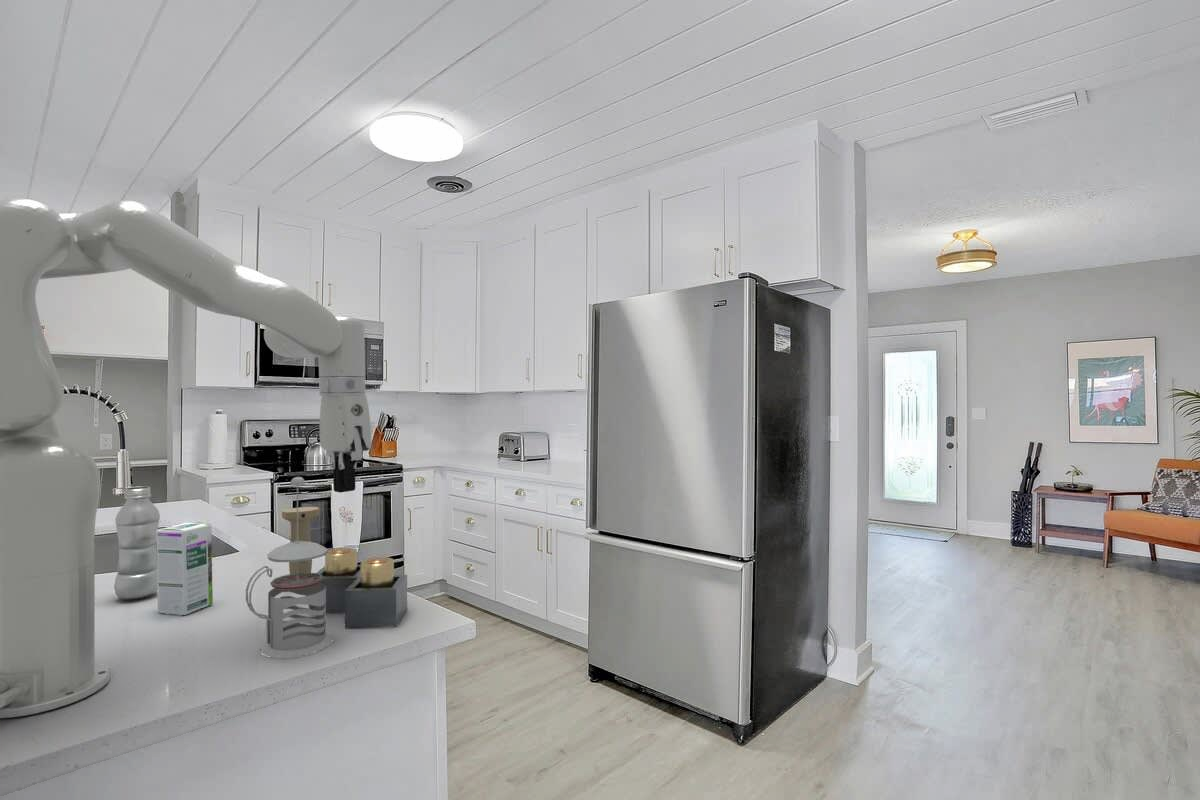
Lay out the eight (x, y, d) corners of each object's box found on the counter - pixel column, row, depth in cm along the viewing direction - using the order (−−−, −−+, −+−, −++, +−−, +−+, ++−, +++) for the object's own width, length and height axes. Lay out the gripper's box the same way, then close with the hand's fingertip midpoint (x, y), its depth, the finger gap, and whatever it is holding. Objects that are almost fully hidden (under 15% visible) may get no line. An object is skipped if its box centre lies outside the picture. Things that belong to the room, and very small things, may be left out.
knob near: (389, 599, 100) (389, 563, 100) (356, 600, 99) (356, 564, 99) (396, 589, 105) (397, 555, 105) (365, 589, 104) (365, 556, 104)
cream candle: (351, 586, 106) (352, 553, 106) (320, 587, 105) (320, 554, 105) (360, 577, 111) (360, 546, 111) (330, 578, 111) (331, 546, 111)
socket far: (357, 612, 105) (357, 577, 105) (309, 613, 104) (309, 578, 104) (370, 597, 113) (370, 564, 113) (325, 598, 112) (325, 565, 112)
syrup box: (185, 616, 102) (185, 529, 102) (155, 613, 104) (155, 528, 103) (213, 605, 108) (213, 522, 108) (184, 602, 109) (184, 521, 109)
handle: (279, 587, 118) (279, 509, 118) (315, 581, 122) (315, 505, 122) (284, 593, 114) (284, 513, 114) (321, 587, 118) (321, 509, 118)
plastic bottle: (105, 601, 109) (104, 489, 109) (143, 590, 116) (143, 484, 116) (131, 605, 107) (131, 491, 107) (168, 593, 114) (168, 486, 114)
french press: (343, 645, 91) (344, 477, 91) (257, 669, 83) (257, 484, 83) (319, 626, 98) (319, 471, 98) (237, 647, 90) (237, 477, 90)
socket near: (396, 626, 98) (396, 589, 98) (344, 628, 98) (344, 590, 98) (407, 609, 106) (407, 574, 106) (359, 610, 106) (359, 575, 106)
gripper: (385, 387, 106) (386, 492, 107) (341, 387, 116) (343, 484, 116) (343, 387, 100) (345, 499, 101) (301, 387, 110) (303, 489, 110)
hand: (344, 490), depth 109 cm, fingers closed
